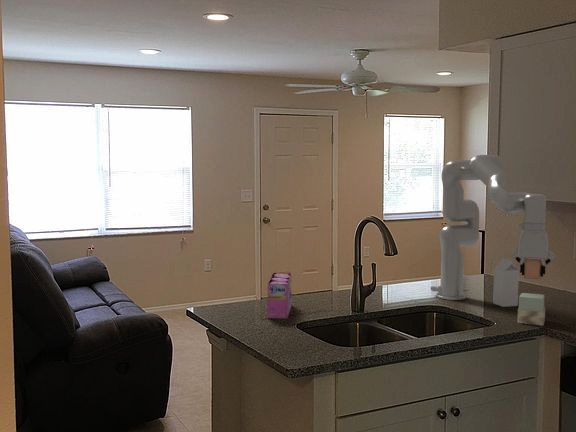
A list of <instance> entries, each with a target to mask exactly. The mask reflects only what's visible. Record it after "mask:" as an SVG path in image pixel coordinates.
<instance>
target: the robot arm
mask: <svg viewBox="0 0 576 432" xmlns="http://www.w3.org/2000/svg"><path fill="white" fill-rule="evenodd" d="M504 170H505V162H504V160H503V158H502V157H501V156H499V155H496V154H477V155H475V156H473V157H472V158H471V159H457V160H451V161H448V162H446V164H445V165H444V166H443V168H442V171H441V182H442V187H443V191H442V192H443V196H442V197H443V198H442V199H443V203H442V204H443V206H442V209H443V210H442V212H443V218H444V220H445V221H446V222H450V223H459V222H461V223H462V224H450V225H446V226H444V227H442V229H440V231H439V243H440V250H441V251H440V253H441V254H440V255H441V257H440V285H439V286H432V285H431V286H430V291H431V292H437V293H436V298H439V299H440V300H441V299H442V300H449V301H462V300H465V299H467V294H465V293H464V271H465V270H464V269H465V268H464V266H465V261H464V260H465V258H464V254H463V251H462V249H461V247H472V246H474V245H476V244H477V242H478V241H479V237H480V209H479V205H478V204H477V202H475V201H474V200H473V199H465V198H464V197H465V195H464V194H465V193H464V192H465V191H464V187H463V185H462V184H461V181H478V180H479V181H481V182H482V184H484V185H485V186H486V187H487V195H488V197H489V200H490V202H492V204H493V205H494V206H495V207H496V208H497V209H498V210H499V211H501V212H504V213H523V222H522V223H519V224H518V226H519V227H518V228H522V230H520V235H519V241H518V247H517V248H515V250H514V251H512V253H510V254H511V256H512V257H513V259H515V261H517V262H518V264H519V269H520V270H519V274H520V273H521V276H524V260H525V258H536V259H541V262H542V265H541V278H542V277H544V275H546V266H547V265H548V264H549V263H551V262H552V261H553V260H554V259H555V258H556V257H557V256H556V254H554V252H553V251H552V250H550V249H549V238H548V236H549V235H548V232H547V231H546V213H547V212H546V208H547V207H546V206H547V198H546V195H545V194H542V193H530V192H527V191H526V192H525V191H524V192H520V191H519V192H508V191H506V190H505V189H504V188H503V187H504V185H505V184H506V182H507V181H508V179H507V174H506V172H504ZM548 255H549V257H548ZM546 258H547V259H546Z"/></svg>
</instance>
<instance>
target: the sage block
mask: <svg viewBox="0 0 576 432" xmlns="http://www.w3.org/2000/svg"><path fill="white" fill-rule="evenodd" d="M544 308H545V294H540V293H530V292H529V293H527V292H521V293H520V295H518V309H519V310H525V311H534V312H542V310H543V309H544Z"/></svg>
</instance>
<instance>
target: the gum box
mask: <svg viewBox="0 0 576 432" xmlns="http://www.w3.org/2000/svg"><path fill="white" fill-rule="evenodd" d="M292 295H293V292H292V273H291V272H288V273H287V274H284V273H277V272H273V273H272V274H271V277H270V279H269V280H268V282H267V305H266V306H267V311H266V312H267V316H266V318H267V319H283V320H284V319H288V318H289V315H290V311H291V309H292V305H293V304H292V302H293V301H292V299H293V296H292Z"/></svg>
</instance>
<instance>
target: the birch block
mask: <svg viewBox="0 0 576 432" xmlns="http://www.w3.org/2000/svg"><path fill="white" fill-rule="evenodd" d="M545 319H546V307H544V309H543V310H542V312H534V311H525V310H519V308H518V309H517V320H516V321H517V324H523V323H524V324H525V325H532V326H533V325H535V326H542V327H543V326H544V324H545V321H546V320H545Z"/></svg>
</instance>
